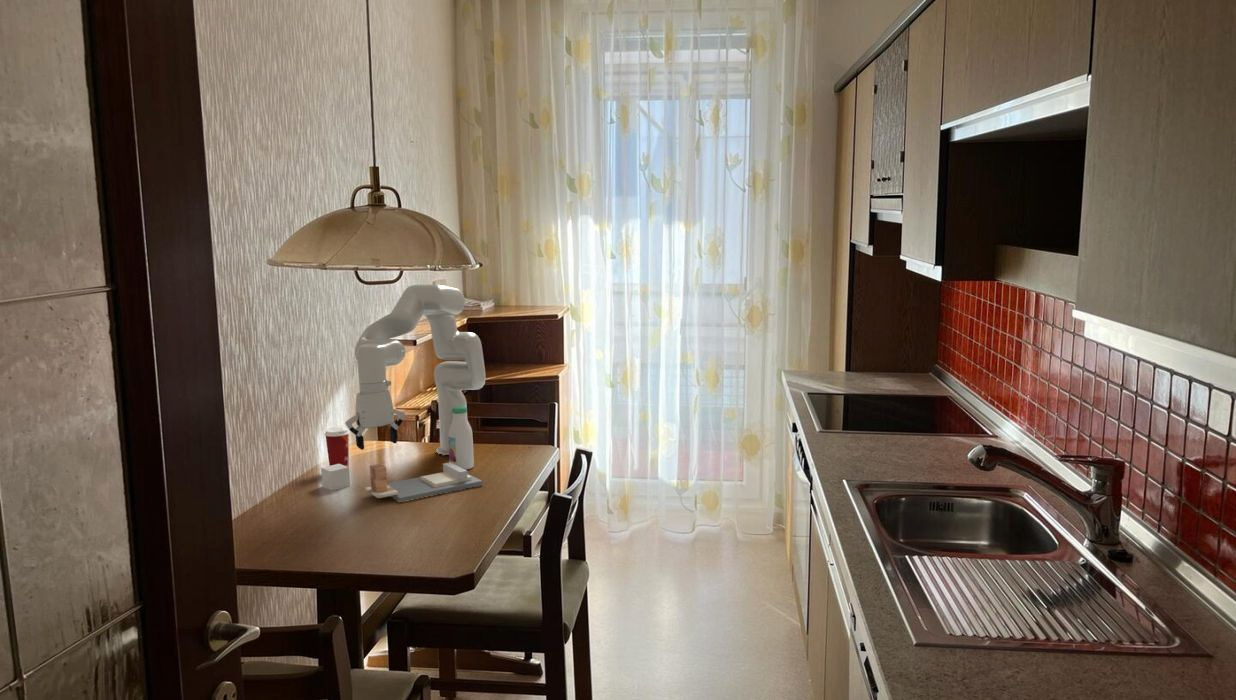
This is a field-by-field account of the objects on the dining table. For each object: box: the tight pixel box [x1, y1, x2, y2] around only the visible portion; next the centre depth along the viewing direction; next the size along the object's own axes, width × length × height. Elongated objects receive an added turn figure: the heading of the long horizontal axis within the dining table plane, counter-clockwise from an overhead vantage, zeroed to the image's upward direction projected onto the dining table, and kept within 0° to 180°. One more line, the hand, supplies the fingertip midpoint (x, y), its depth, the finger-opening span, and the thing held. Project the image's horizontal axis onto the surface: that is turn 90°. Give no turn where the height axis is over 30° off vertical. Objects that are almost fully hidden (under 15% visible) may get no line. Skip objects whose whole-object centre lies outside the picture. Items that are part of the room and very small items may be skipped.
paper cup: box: [324, 426, 351, 468], centre depth 281 cm, size 8×8×14 cm
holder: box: [387, 461, 483, 502], centre depth 263 cm, size 16×26×5 cm, turn 126°
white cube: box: [320, 464, 351, 491], centre depth 266 cm, size 6×6×6 cm
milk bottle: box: [448, 406, 475, 471], centre depth 283 cm, size 8×8×20 cm
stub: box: [364, 463, 398, 499], centre depth 254 cm, size 10×6×8 cm, turn 36°
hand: (377, 445), depth 253 cm, fingers open, 9 cm apart
